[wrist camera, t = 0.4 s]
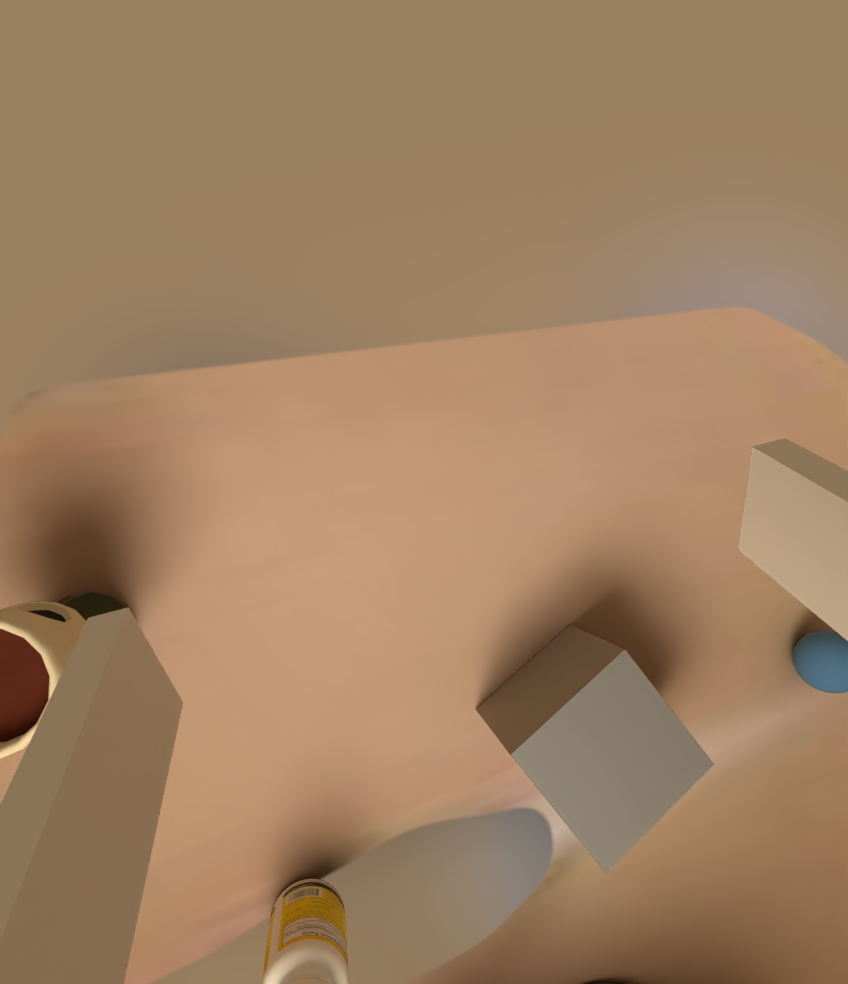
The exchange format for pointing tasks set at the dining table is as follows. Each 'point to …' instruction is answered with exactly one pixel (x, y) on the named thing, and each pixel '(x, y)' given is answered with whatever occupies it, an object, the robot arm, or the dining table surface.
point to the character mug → (37, 659)
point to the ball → (823, 661)
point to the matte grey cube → (595, 741)
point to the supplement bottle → (307, 936)
